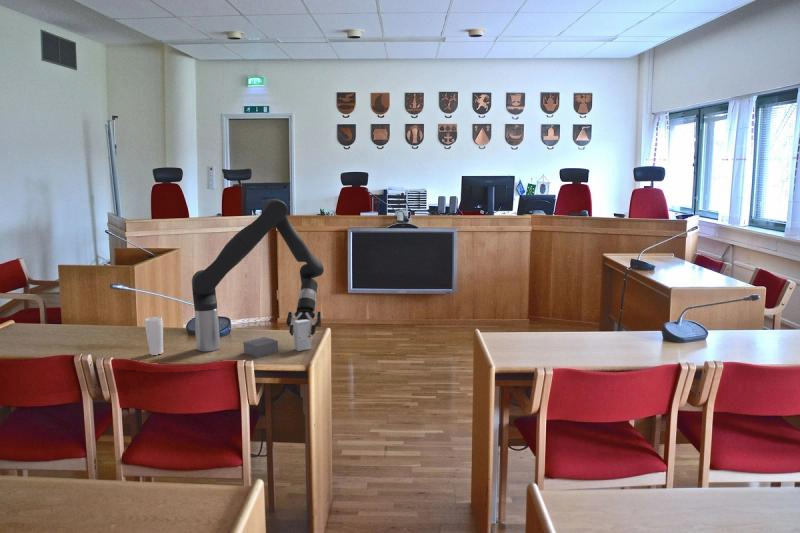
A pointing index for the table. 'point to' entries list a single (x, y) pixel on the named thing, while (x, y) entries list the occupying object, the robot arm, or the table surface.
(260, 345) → the charcoal block
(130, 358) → the table surface
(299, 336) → the skincare box
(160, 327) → the drinking glass
